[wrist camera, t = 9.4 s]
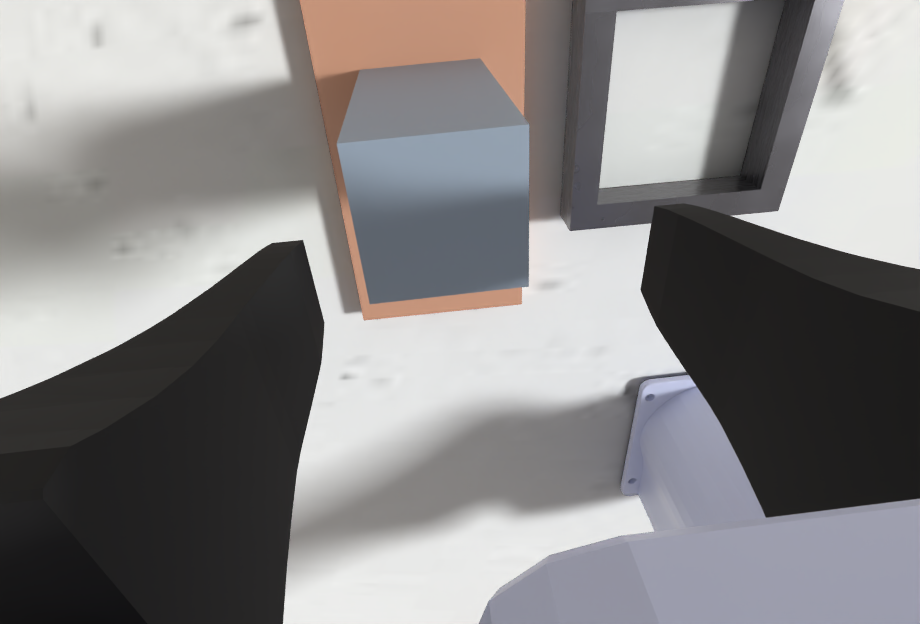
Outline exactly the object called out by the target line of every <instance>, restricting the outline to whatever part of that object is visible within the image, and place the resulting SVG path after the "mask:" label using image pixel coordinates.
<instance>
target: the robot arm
mask: <svg viewBox="0 0 920 624" xmlns="http://www.w3.org/2000/svg"><path fill="white" fill-rule="evenodd" d="M641 292H642V294H643V297H644V299H645V302H646V304H647V306H648V309H649V311H650V313H651V315H652V317H653V319H654V321H655V323H656V326H657V327H658V329H659V331H660V332H661V334H662V335H663V337H664V338H665V340H666V341H667V343H668V344H669V346H670V348H671V349H672V351H673V352H674V354H675V355H676V357H677V358H678V360H679V361H680V363H681V364H682V366H683V367H684V369H685V370H686V371H687V373H688V374H689V375H684V376H675V377H666V378H657V379H649V380H646V381H644V382H643V383H642V384H641V385H640V387H639V392H638V398H637V403H636V408H635V413H634V419H633V424H632V429H631V434H630V440H629V445H628V450H627V455H626V461H625V466H624V471H623V477H622V482H621V487H620V488H621V491H622V494H623V495H626V496H632V495H639V497H640V499H641V501H642V504H643V506H644V508H645V510H646V513H647V515H648V517H649V520H650V522H651V524H652V526H653V529H654V531H655V532H648V533H640V534H632V535H624V536H618V537H615V538H611V539H607V540H604V541H600V542H596V543H593V544H589V545H585V546H582V547H578V548H574V549H571V550H567V551H563V552H560V553H556V554H552V555H549V556H548V557H546V558H545V559H543V560H542V561H540V562H539V563H537V564H536V565H534V566H533V567H531V568H529V569H528V570H526V571H525V572H523V573H522V574H520V575H519V576H517V577H516V578H514V579H513V580H511V581H510V582H508V583H507V584H505V585H504V586H502V587H501V588H499V590H498V591H497V592H496V593H495V594H494V596H493V597H492V598H491V599H490V600H489V602H488V604H487V606H486V609H485V611H484V613H483V615H482V618H481V620H480V622H479V624H920V269H915V268H910V267H905V266H900V265H896V264H891V263H887V262H883V261H878V260H874V259H870V258H865V257H861V256H857V255H853V254H849V253H845V252H841V251H838V250H834V249H831V248H827V247H824V246H821V245H817V244H814V243H810V242H807V241H804V240H800V239H797V238H794V237H791V236H788V235H785V234H782V233H779V232H776V231H773V230H770V229H767V228H764V227H761V226H758V225H755V224H752V223H749V222H746V221H744V220H741V219H738V218H735V217H732V216H729V215H726V214H723V213H720V212H717V211H713V210H710V209H707V208H703V207H699V206H695V205H690V204H684V203H682V204H671V205H661V206H654V211H653V217H652V224H651V230H650V236H649V242H648V248H647V254H646V260H645V267H644V273H643V279H642V285H641ZM323 335H324V320H323V316H322V312H321V308H320V304H319V301H318V297H317V293H316V289H315V285H314V281H313V277H312V273H311V270H310V266H309V262H308V258H307V254H306V250H305V246H304V242H303V240H300V241H289V242H279V243H272V244H270V245H268V246H266V247H265V248H263V249H262V250H260V251H259V252H257V253H256V254H255V255H253V256H252V257H251V258H249V259H248V260H247V261H245V262H244V263H243V264H241V265H240V266H239V267H237V268H236V269H235V270H233V271H232V272H231V273H230V274H228V275H227V276H226V277H224V278H223V279H222V280H220V281H219V282H218V283H216V284H215V285H214V286H212V287H211V288H210V289H208V290H207V291H205V292H204V293H202V294H201V295H200V296H198V297H197V298H195V299H194V300H192V301H191V302H189V303H188V304H187V305H185V306H184V307H182V308H181V309H179V310H178V311H176V312H175V313H173V314H172V315H170V316H169V317H167V318H166V319H164V320H163V321H161V322H159V323H158V324H156V325H154V326H153V327H151V328H149V329H148V330H146V331H144V332H142V333H141V334H139V335H137V336H135V337H133V338H132V339H130V340H128V341H126V342H124V343H123V344H121V345H119V346H117V347H115V348H113V349H111V350H109V351H107V352H105V353H103V354H101V355H99V356H97V357H95V358H93V359H90V360H88V361H86V362H84V363H82V364H80V365H78V366H76V367H74V368H71V369H69V370H67V371H65V372H63V373H61V374H59V375H57V376H54V377H52V378H50V379H48V380H45V381H43V382H40V383H38V384H36V385H33V386H31V387H28V388H26V389H23V390H21V391H19V392H16V393H14V394H11V395H8V396H6V397H3V398H1V399H0V624H283V613H284V599H285V585H286V572H287V560H288V550H289V539H290V529H291V518H292V509H293V501H294V492H295V483H296V475H297V469H298V463H299V458H300V452H301V448H302V444H303V439H304V435H305V431H306V427H307V423H308V418H309V414H310V410H311V406H312V401H313V397H314V393H315V389H316V384H317V380H318V375H319V371H320V366H321V360H322V349H323ZM649 394H650V395H649ZM647 395H648V396H647Z"/></svg>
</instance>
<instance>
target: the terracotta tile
mask: <svg viewBox="0 0 920 624" xmlns="http://www.w3.org/2000/svg"><path fill="white" fill-rule="evenodd" d="M525 4H526V0H300V5H301V10H302V15H303V20H304V25H305V30H306V35H307V40H308V45H309V50H310V55H311V60H312V65H313V70H314V75H315V80H316V84H317V89H318V94H319V99H320V104H321V109H322V114H323V119H324V124H325V129H326V134H327V139H328V144H329V149H330V154H331V159H332V164H333V169H334V174H335V179H336V184H337V189H338V194H339V199H340V204H341V209H342V214H343V219H344V224H345V229H346V234H347V239H348V244H349V249H350V254H351V259H352V264H353V269H354V274H355V279H356V284H357V289H358V294H359V299H360V304H361V309H362V314H363V319H364V320H372V319H381V318H391V317H401V316H411V315H421V314H430V313H440V312H450V311H460V310H469V309H479V308H489V307H499V306H508V305H518V304H522V287H520V288H511V289H502V290H493V291H485V292H476V293H467V294H458V295H449V296H440V297H431V298H423V299H414V300H405V301H396V302H387V303H378V304H370V303H369V298H368V294H367V289H366V284H365V279H364V274H363V269H362V264H361V260H360V255H359V250H358V245H357V240H356V235H355V230H354V226H353V221H352V216H351V211H350V206H349V201H348V196H347V192H346V187H345V182H344V177H343V172H342V167H341V163H340V158H339V153H338V148H337V141H338V138H339V135H340V131H341V128H342V125H343V122H344V119H345V115H346V112H347V109H348V106H349V103H350V100H351V96H352V93H353V90H354V87H355V84H356V80H357V77H358V74H359V71H360V70H362V69H373V68H383V67H394V66H404V65H415V64H425V63H436V62H446V61H457V60H467V59H478V58H480V59H481V60H482V61H483V63H484V64H485V65H486V67H487V68H488V70H489V71H490V72H491V74H492V75H493V76H494V78H495V79H496V80H497V82H498V83H499V84H500V86H501V87H502V88H503V90H504V91H505V92H506V94H507V95H508V96H509V98H510V99H511V100H512V102H513V103H514V104H515V106H516V107H517V108H518V110H519V111H520V112H521V114H522V115H523V116H524V81H525Z"/></svg>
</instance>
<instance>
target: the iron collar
mask: <svg viewBox="0 0 920 624" xmlns="http://www.w3.org/2000/svg"><path fill="white" fill-rule="evenodd" d="M739 1H752V0H573V3H572V20H571V38H570V55H569V72H568V90H567V107H566V125H565V142H564V159H563V177H562V194H561V212H560V215H561V217H562V219H563V220H564V222H565V224H566V225H567V227H568V229H569V230H570V231H575V230H585V229H596V228H606V227H616V226H627V225H637V224H648V223H652V217H653V211H654V206H661V205H671V204H682V203H684V204H690V205H695V206H699V207H703V208H707V209H710V210H713V211H717V212H720V213H723V214H726V215H729V216H731V215H741V214H752V213H762V212H772V211H778V210H779V207H780V203H781V200H782V197H783V194H784V191H785V187H786V184H787V181H788V178H789V175H790V171H791V168H792V165H793V162H794V159H795V156H796V152H797V149H798V146H799V143H800V140H801V136H802V133H803V130H804V127H805V124H806V121H807V117H808V114H809V111H810V108H811V105H812V101H813V98H814V95H815V92H816V89H817V86H818V82H819V79H820V76H821V73H822V70H823V66H824V63H825V60H826V57H827V54H828V51H829V47H830V44H831V41H832V38H833V35H834V31H835V28H836V25H837V22H838V19H839V16H840V12H841V9H842V6H843V3H844V0H786V1H785V5H784V9H783V13H782V17H781V20H780V24H779V28H778V32H777V36H776V40H775V44H774V48H773V51H772V55H771V59H770V63H769V67H768V71H767V75H766V78H765V82H764V86H763V90H762V94H761V98H760V102H759V105H758V109H757V113H756V117H755V121H754V125H753V129H752V133H751V136H750V140H749V144H748V148H747V152H746V156H745V160H744V163H743V167H742V171H741V175H740V176H734V177H723V178H712V179H701V180H690V181H680V182H669V183H658V184H647V185H636V186H626V187H615V188H604V189H599V182H600V172H601V162H602V152H603V142H604V132H605V122H606V112H607V102H608V92H609V82H610V72H611V62H612V52H613V42H614V32H615V22H616V12H617V11H621V10H634V9H647V8H661V7H674V6H687V5H700V4H713V3H726V2H739Z"/></svg>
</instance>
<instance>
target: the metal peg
mask: <svg viewBox="0 0 920 624" xmlns="http://www.w3.org/2000/svg"><path fill="white" fill-rule="evenodd" d="M337 148H338V153H339V158H340V163H341V167H342V172H343V177H344V182H345V187H346V192H347V196H348V201H349V206H350V211H351V216H352V221H353V226H354V230H355V235H356V240H357V245H358V250H359V255H360V260H361V264H362V269H363V274H364V279H365V284H366V289H367V294H368V298H369V303H370V304H378V303H387V302H396V301H405V300H414V299H423V298H431V297H440V296H449V295H458V294H467V293H476V292H485V291H493V290H502V289H511V288H520V287H529V123H528V122H527V120H526V119H525V118H524V116H523V115H522V114H521V112H520V111H519V110H518V108H517V107H516V106H515V104H514V103H513V102H512V100H511V99H510V98H509V96H508V95H507V94H506V92H505V91H504V90H503V88H502V87H501V86H500V84H499V83H498V82H497V80H496V79H495V78H494V76H493V75H492V74H491V72H490V71H489V70H488V68H487V67H486V65H485V64H484V63H483V61H482V60H481V59H480V58H478V59H467V60H457V61H446V62H436V63H425V64H415V65H404V66H394V67H383V68H373V69H362V70H360V71H359V74H358V77H357V80H356V84H355V87H354V90H353V93H352V96H351V100H350V103H349V106H348V109H347V112H346V115H345V119H344V122H343V125H342V128H341V131H340V135H339V138H338V141H337Z"/></svg>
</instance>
